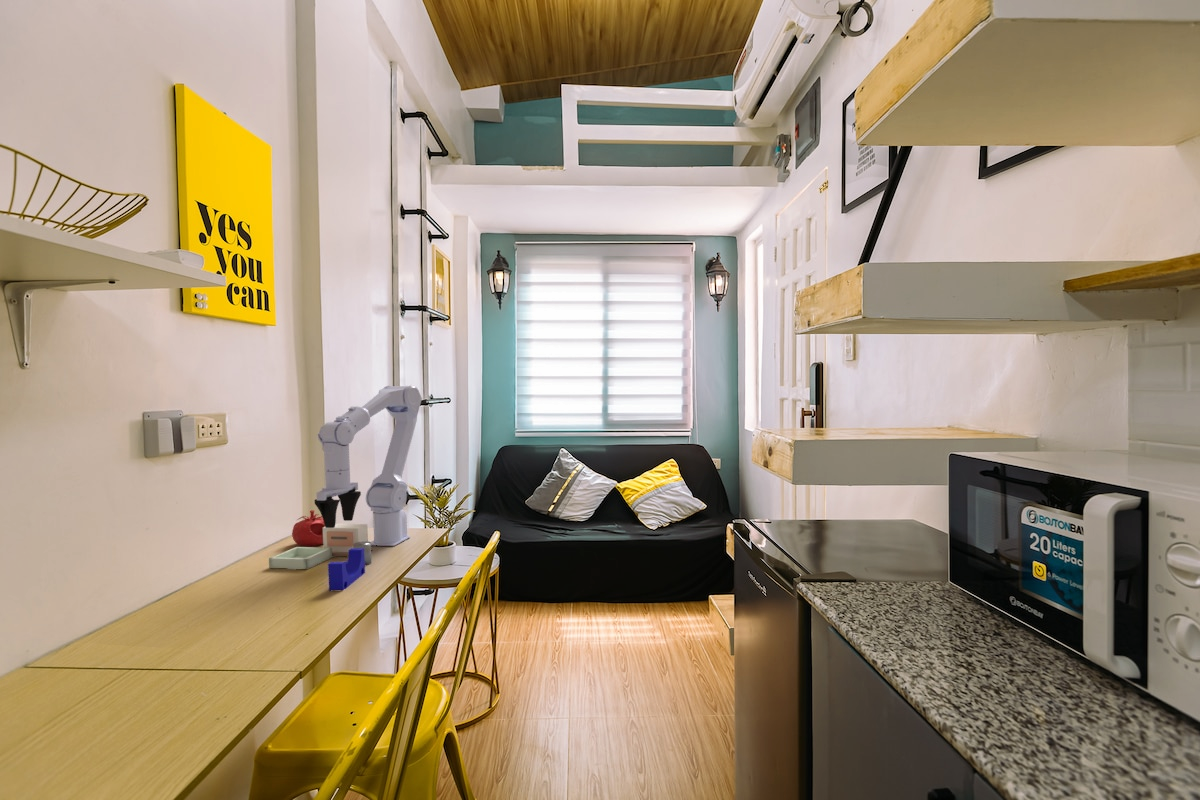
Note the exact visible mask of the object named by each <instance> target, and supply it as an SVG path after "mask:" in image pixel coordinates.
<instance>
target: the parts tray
mask: <svg viewBox="0 0 1200 800" xmlns="http://www.w3.org/2000/svg"><path fill="white" fill-rule="evenodd" d="M329 558H330V559H332V558H333V556H332V548H323V547H318V546H317V547H316V546H296V547H293V548H291V549H289V550H285V551H283V552H281V553H279V554H276V555H273V556H271V557H269V558H268V567H269V568H288V569H287V570H296V569H307V570H309V569H311V568H313V566H314V567H315V565H316V566H317V564H318V565H320V564H322V563H324V562H326V561H328V560H330V559H329ZM325 560H326V561H325ZM323 561H324V562H323ZM321 562H322V563H321ZM319 563H320V564H319ZM269 568H268V569H269ZM308 568H309V569H308Z"/></svg>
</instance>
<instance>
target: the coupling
mask: <svg viewBox="0 0 1200 800" xmlns="http://www.w3.org/2000/svg"><path fill="white" fill-rule="evenodd" d="M371 542H372V541H369V540H368V541H363V542H357V543H354V544H353V548H364V557H365V565H366V566H369V565H371V564H372V562H373V561H372V551H371V548H372V545H371Z"/></svg>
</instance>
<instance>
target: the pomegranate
mask: <svg viewBox="0 0 1200 800" xmlns="http://www.w3.org/2000/svg"><path fill="white" fill-rule="evenodd" d="M309 513H310V516H306V515H302V516H300V517H299V518H298V519H296V521H298V520H299V522H296V523H295V524H294V525H293V527H292V531H291V536H292V540H293V541H294V542H295V544H297V545H299V547H316V546H317V547H318V546H320V545H323V527H325V524H324V521H323V518H322V515H321V516H320V514H319V513H317V514H316V513H315V510H310V511H309ZM317 516H318V517H317ZM301 519H302V520H301ZM300 520H301V521H300Z"/></svg>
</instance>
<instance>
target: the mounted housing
mask: <svg viewBox="0 0 1200 800" xmlns="http://www.w3.org/2000/svg"><path fill="white" fill-rule="evenodd" d="M368 533H369V531H368V523H366V524H364V523H363V524H362V523H335V527H334V528H326V527H323V544H322V548H332V557H336V556H348V555H349V550H350V549H351V548H353V544H354V543H357V542H363V541H368V542H369V540H368V539H369V534H368ZM371 550H372V551H373V547H371Z"/></svg>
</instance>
